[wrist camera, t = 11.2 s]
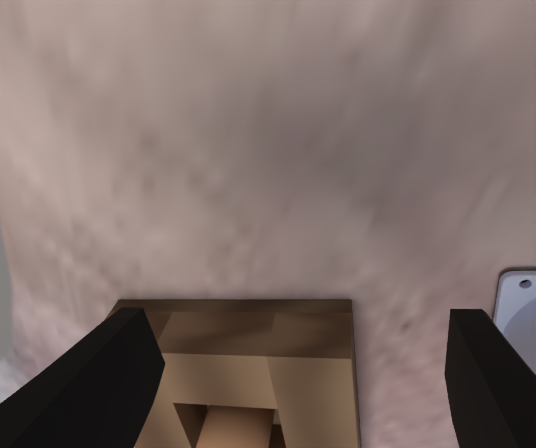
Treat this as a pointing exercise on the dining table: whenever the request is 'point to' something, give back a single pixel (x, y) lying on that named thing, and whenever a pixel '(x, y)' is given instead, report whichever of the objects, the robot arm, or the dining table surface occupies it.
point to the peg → (236, 427)
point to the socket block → (254, 369)
